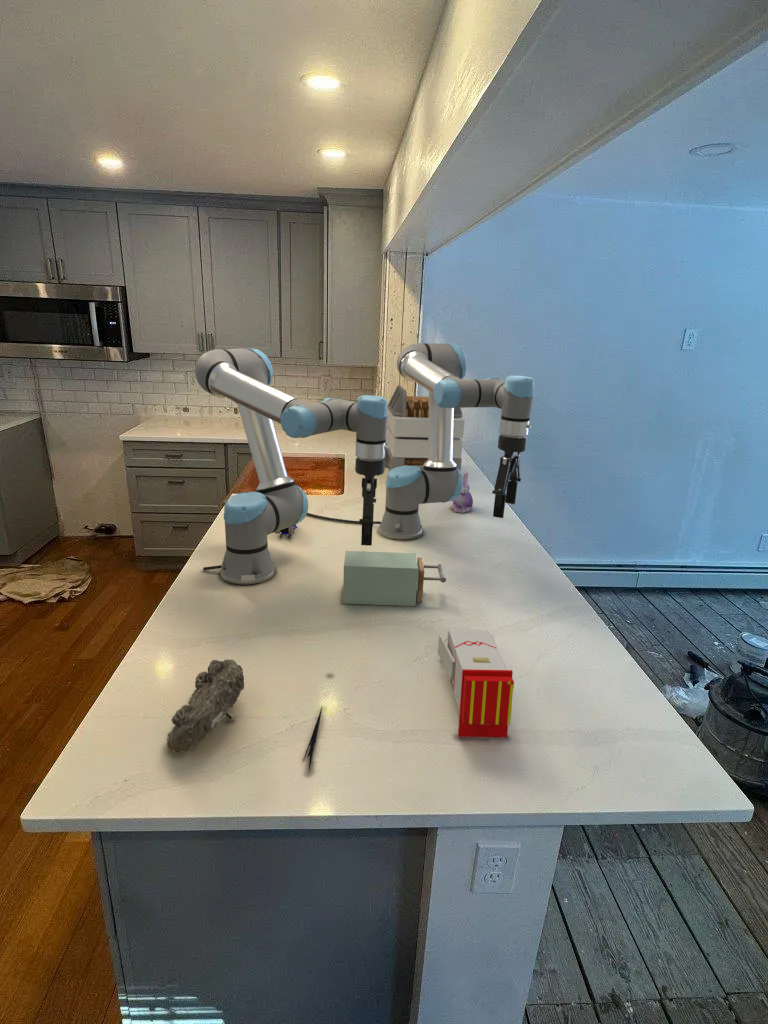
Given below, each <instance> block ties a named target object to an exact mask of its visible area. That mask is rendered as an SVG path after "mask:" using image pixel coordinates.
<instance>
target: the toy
mask: <svg viewBox="0 0 768 1024" xmlns="http://www.w3.org/2000/svg"><path fill="white" fill-rule="evenodd" d="M446 640H447V643H446V641H445V639H444V636H443V635H442V634H439V637H438V646H437V656H438V657H439V659H440V661H441V663H442V666H443V668H444V670H445V672H446V674H447V677H448V679H449V681H450V684H451V687H452V690H453V693H454V697H455V701H456V705H457V708H458V711H459V714H458V715H459V716H458V730H457V731H458V732H457V737H458V738H508V731H509V726H510V725H511V717H512V707H513V697H514V696H513V695H514V684H515V680H514V679H513V673H514V671H513V670H512V669H508V667H507V665H506V662H505V661H504V659H503V658H502V655H501V653H500V651H499V649H498V647H497V643H496V639H495V637H494V635H493V634H491V632H490V631H489V629H467V628H466V629H465V628H463V629H461V628H460V629H459V628H448V630H447V639H446Z"/></svg>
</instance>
